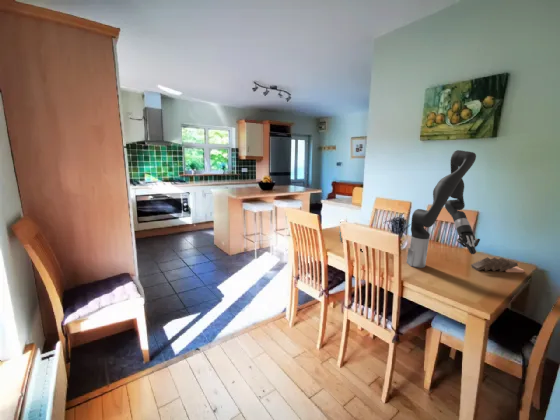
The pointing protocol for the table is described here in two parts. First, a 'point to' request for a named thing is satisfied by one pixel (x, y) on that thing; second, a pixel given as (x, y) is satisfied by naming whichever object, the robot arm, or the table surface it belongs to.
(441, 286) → the table surface
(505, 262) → the domino
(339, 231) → the ink box
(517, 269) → the domino
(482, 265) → the domino
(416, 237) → the robot arm
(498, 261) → the domino
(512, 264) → the domino
